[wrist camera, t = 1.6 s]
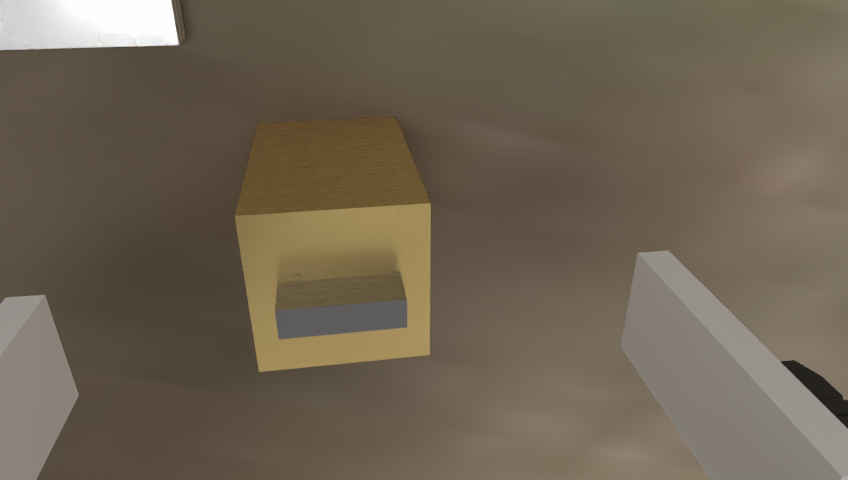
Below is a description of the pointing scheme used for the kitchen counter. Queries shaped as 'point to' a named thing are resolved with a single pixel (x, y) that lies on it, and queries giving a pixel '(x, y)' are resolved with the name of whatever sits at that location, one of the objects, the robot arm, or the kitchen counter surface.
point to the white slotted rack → (89, 23)
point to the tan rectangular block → (334, 244)
